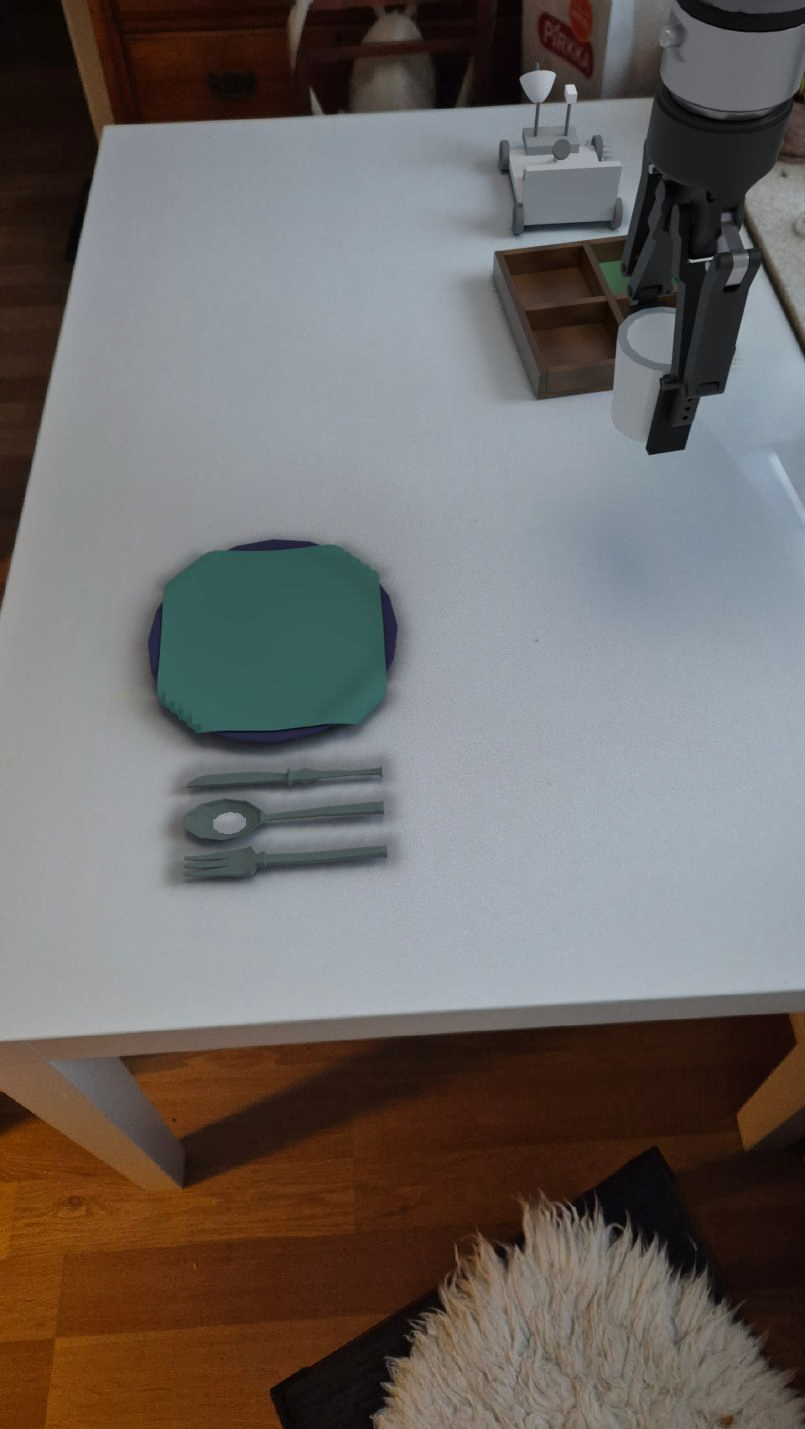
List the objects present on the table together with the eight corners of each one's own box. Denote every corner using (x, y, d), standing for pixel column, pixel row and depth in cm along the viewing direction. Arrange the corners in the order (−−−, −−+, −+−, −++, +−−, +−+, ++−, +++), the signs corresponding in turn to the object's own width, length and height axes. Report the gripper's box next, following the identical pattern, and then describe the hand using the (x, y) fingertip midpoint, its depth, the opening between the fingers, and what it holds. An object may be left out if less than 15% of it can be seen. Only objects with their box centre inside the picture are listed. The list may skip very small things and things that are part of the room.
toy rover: (501, 59, 111) (605, 54, 112) (495, 148, 120) (592, 143, 120) (522, 149, 102) (636, 143, 102) (514, 239, 110) (620, 233, 110)
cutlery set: (390, 546, 87) (390, 528, 85) (416, 868, 71) (416, 855, 70) (160, 560, 87) (154, 542, 85) (134, 887, 71) (126, 875, 69)
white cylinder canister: (586, 400, 76) (599, 320, 70) (667, 375, 77) (686, 295, 71) (630, 460, 73) (647, 381, 67) (713, 433, 74) (738, 354, 68)
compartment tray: (667, 256, 108) (673, 229, 106) (728, 374, 98) (736, 347, 96) (492, 278, 107) (494, 251, 104) (536, 400, 97) (539, 373, 94)
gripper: (606, 9, 60) (563, 336, 79) (725, 197, 50) (641, 519, 69) (727, -5, 60) (654, 323, 80) (868, 177, 50) (745, 502, 70)
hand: (648, 413), depth 75 cm, fingers closed on white cylinder canister, 7 cm apart
